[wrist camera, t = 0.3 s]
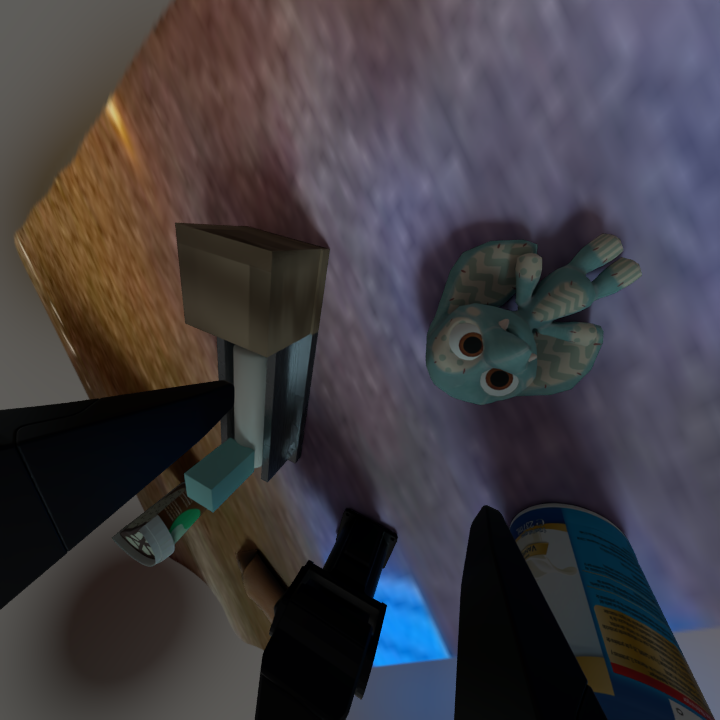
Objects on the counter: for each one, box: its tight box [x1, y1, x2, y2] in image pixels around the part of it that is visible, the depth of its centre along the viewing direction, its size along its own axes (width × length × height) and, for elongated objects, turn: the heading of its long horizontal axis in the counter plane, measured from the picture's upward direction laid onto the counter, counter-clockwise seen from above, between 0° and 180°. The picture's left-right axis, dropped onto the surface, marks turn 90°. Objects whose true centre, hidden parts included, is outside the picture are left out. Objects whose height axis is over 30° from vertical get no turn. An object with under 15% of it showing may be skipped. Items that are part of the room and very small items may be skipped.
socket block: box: [175, 223, 330, 357], centre depth 21 cm, size 7×8×7 cm
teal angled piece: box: [184, 344, 267, 512], centre depth 25 cm, size 13×4×8 cm, turn 168°
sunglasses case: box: [235, 550, 285, 624], centre depth 47 cm, size 18×7×7 cm, turn 36°
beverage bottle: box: [509, 503, 715, 720], centre depth 14 cm, size 8×8×20 cm
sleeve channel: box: [217, 332, 318, 482], centre depth 27 cm, size 16×8×4 cm, turn 168°
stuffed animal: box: [426, 234, 642, 405], centre depth 16 cm, size 11×7×12 cm
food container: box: [112, 482, 207, 566], centre depth 40 cm, size 12×6×10 cm, turn 126°
